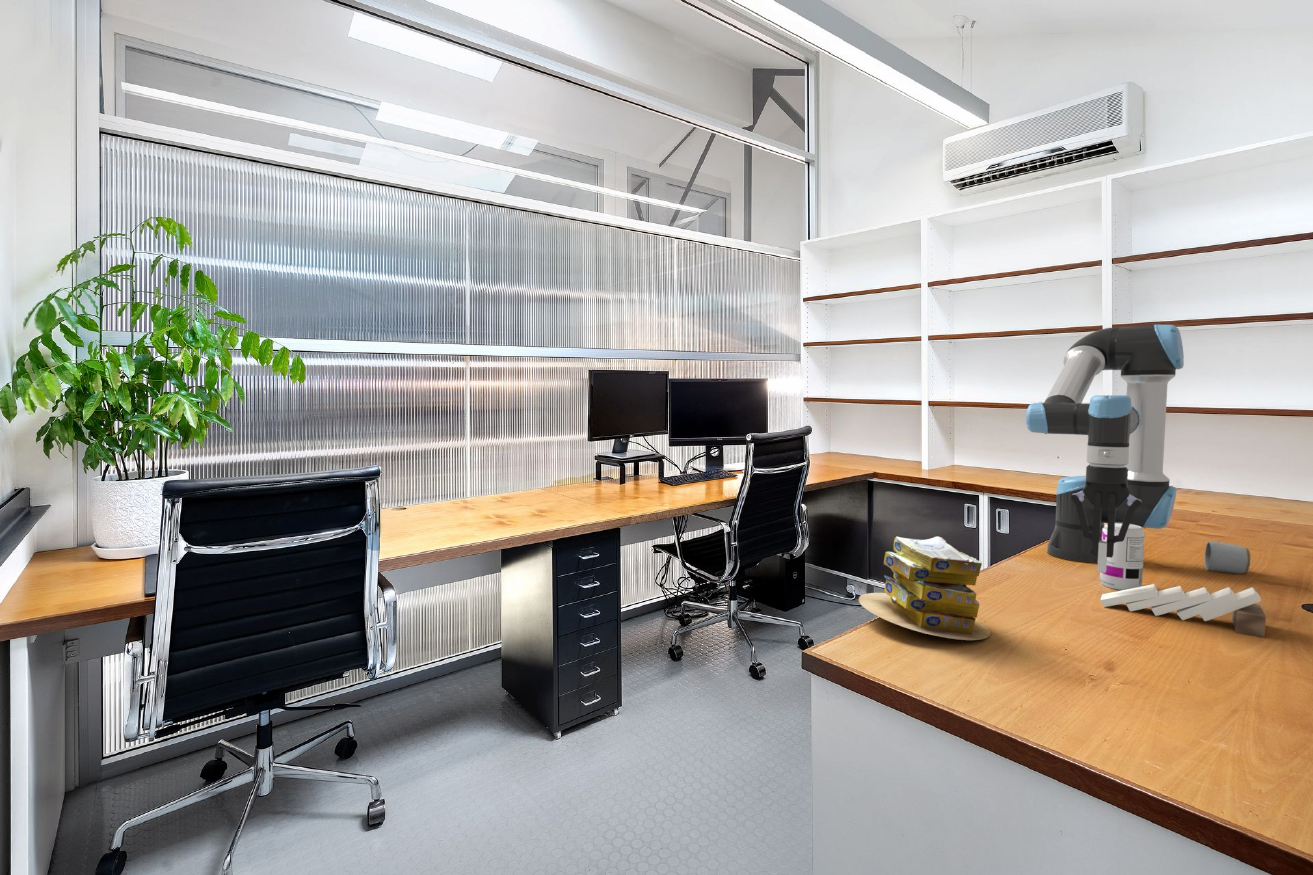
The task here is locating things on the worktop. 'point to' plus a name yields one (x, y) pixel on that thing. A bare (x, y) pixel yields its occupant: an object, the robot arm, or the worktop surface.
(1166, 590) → the domino
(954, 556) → the plate with stacked boxes
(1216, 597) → the domino
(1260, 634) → the end block
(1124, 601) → the domino
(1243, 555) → the ceramic mug
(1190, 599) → the domino
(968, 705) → the worktop surface
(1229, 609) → the domino
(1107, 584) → the supplement can
